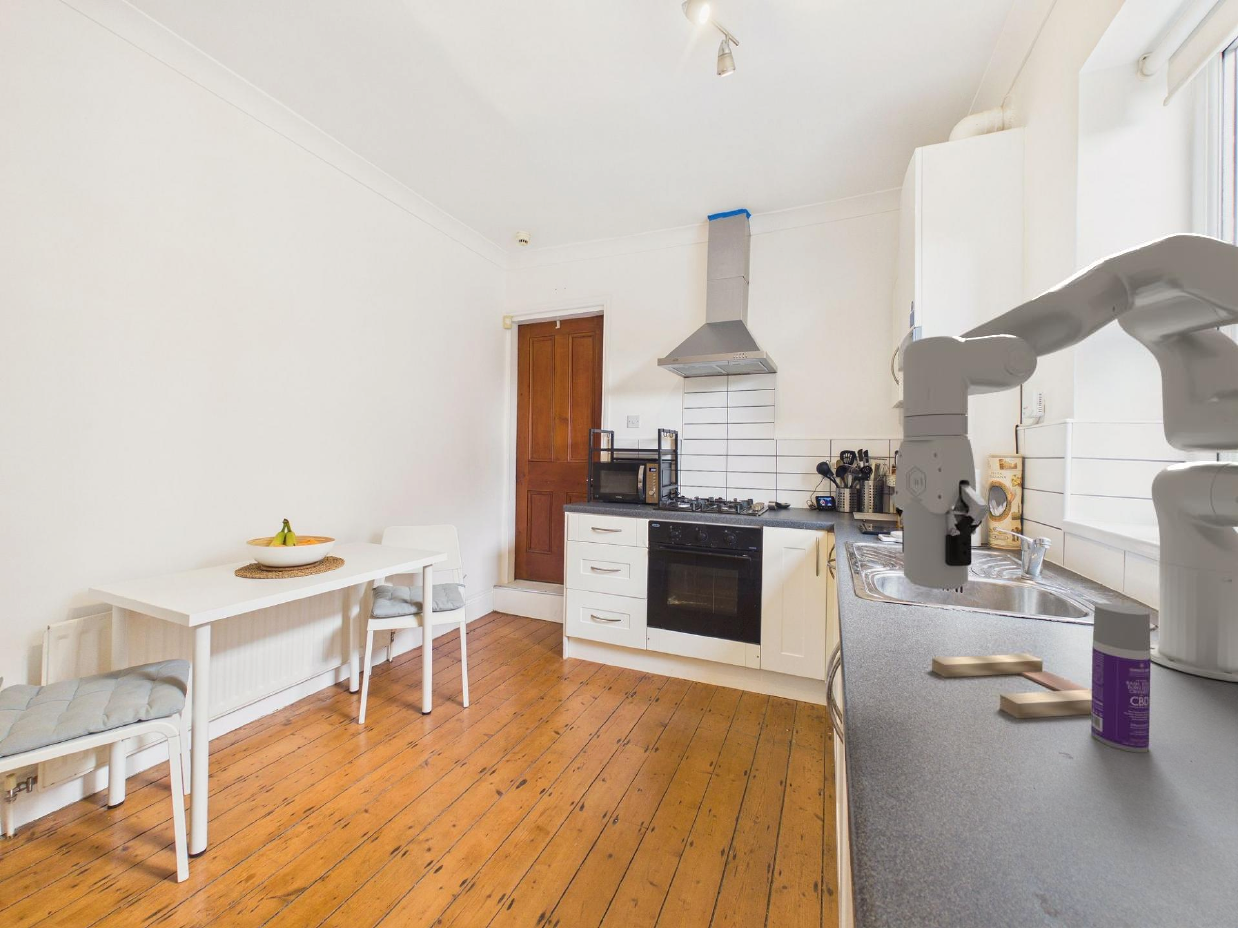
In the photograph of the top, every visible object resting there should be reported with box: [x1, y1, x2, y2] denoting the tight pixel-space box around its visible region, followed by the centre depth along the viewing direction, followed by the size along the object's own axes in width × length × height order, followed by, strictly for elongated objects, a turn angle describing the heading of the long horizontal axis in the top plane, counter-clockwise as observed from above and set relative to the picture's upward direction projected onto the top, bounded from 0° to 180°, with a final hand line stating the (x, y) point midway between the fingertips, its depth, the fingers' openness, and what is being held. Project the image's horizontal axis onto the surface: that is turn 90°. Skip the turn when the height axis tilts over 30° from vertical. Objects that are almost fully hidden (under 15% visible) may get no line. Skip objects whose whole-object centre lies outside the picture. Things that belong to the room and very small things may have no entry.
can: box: [903, 498, 969, 590], centre depth 70 cm, size 8×8×12 cm
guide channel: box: [931, 653, 1092, 719], centre depth 71 cm, size 16×14×2 cm
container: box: [1090, 602, 1152, 753], centre depth 58 cm, size 5×5×15 cm
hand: (934, 558), depth 70 cm, fingers closed on can, 7 cm apart
